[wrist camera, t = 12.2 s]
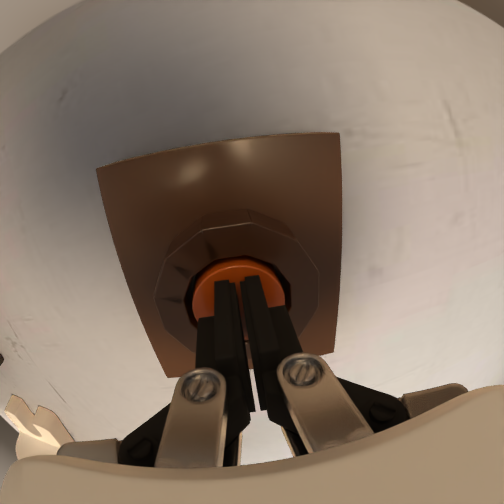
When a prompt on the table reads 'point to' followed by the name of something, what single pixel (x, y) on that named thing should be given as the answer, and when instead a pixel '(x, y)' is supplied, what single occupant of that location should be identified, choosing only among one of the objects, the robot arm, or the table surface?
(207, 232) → the brown button mount
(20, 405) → the slotted bracket
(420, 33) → the table surface
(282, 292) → the orange short cylinder
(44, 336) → the table surface
